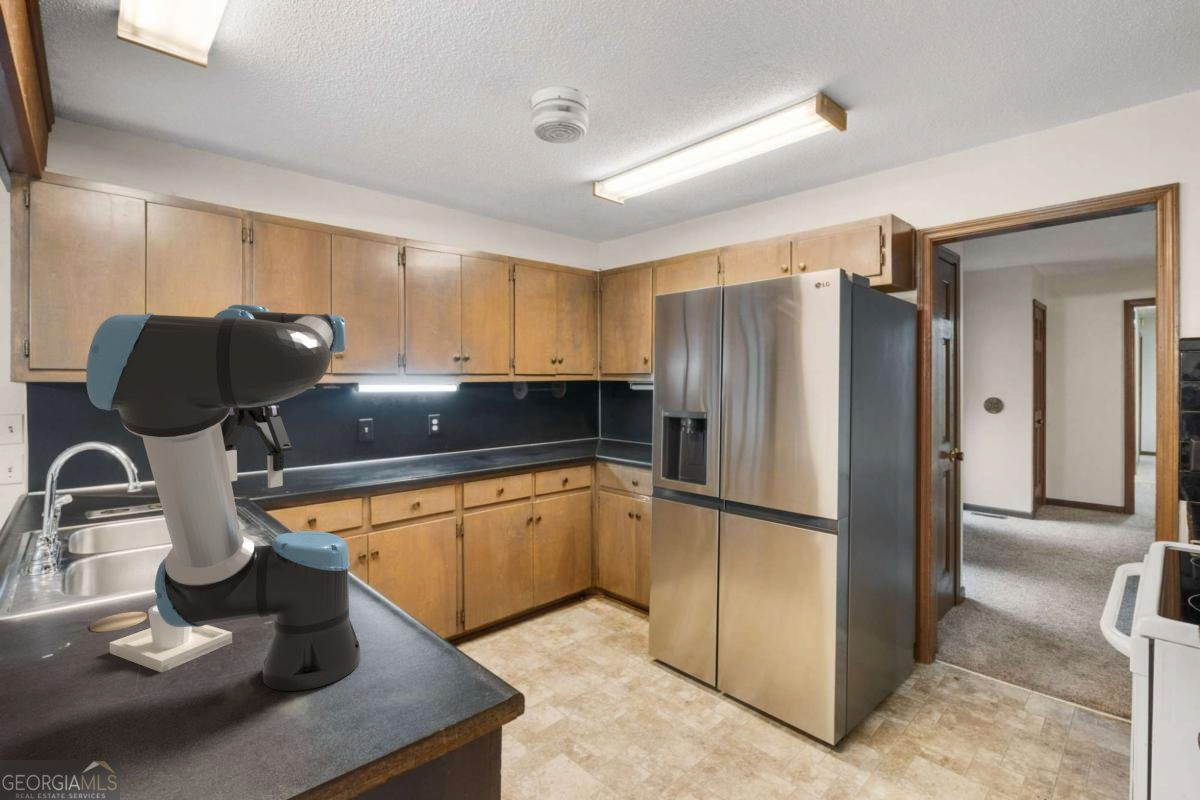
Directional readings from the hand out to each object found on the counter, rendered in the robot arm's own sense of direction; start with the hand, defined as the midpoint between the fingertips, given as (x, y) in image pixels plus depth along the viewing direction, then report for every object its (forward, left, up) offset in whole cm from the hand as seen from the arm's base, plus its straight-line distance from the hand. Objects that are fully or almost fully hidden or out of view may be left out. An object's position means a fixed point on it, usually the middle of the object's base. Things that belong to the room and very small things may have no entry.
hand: (252, 484), depth 116 cm
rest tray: (+2, +15, -28) cm, 32 cm away
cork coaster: (+24, +13, -29) cm, 39 cm away
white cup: (+2, +15, -28) cm, 31 cm away
